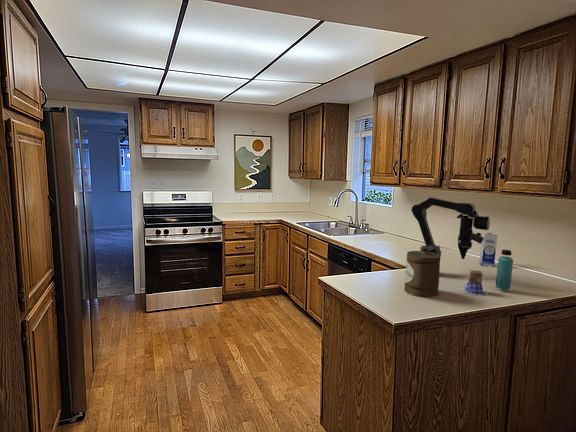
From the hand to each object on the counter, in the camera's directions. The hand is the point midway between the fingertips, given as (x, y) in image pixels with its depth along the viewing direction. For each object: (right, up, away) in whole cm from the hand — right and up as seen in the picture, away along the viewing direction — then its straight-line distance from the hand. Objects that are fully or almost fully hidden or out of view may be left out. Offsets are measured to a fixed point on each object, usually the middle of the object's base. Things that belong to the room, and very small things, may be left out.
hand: (462, 257), depth 192 cm
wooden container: (-29, -14, -19) cm, 37 cm away
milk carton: (+31, -9, +35) cm, 47 cm away
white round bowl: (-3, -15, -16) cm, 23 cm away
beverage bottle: (+13, -15, -14) cm, 24 cm away
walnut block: (-2, -10, -17) cm, 20 cm away
